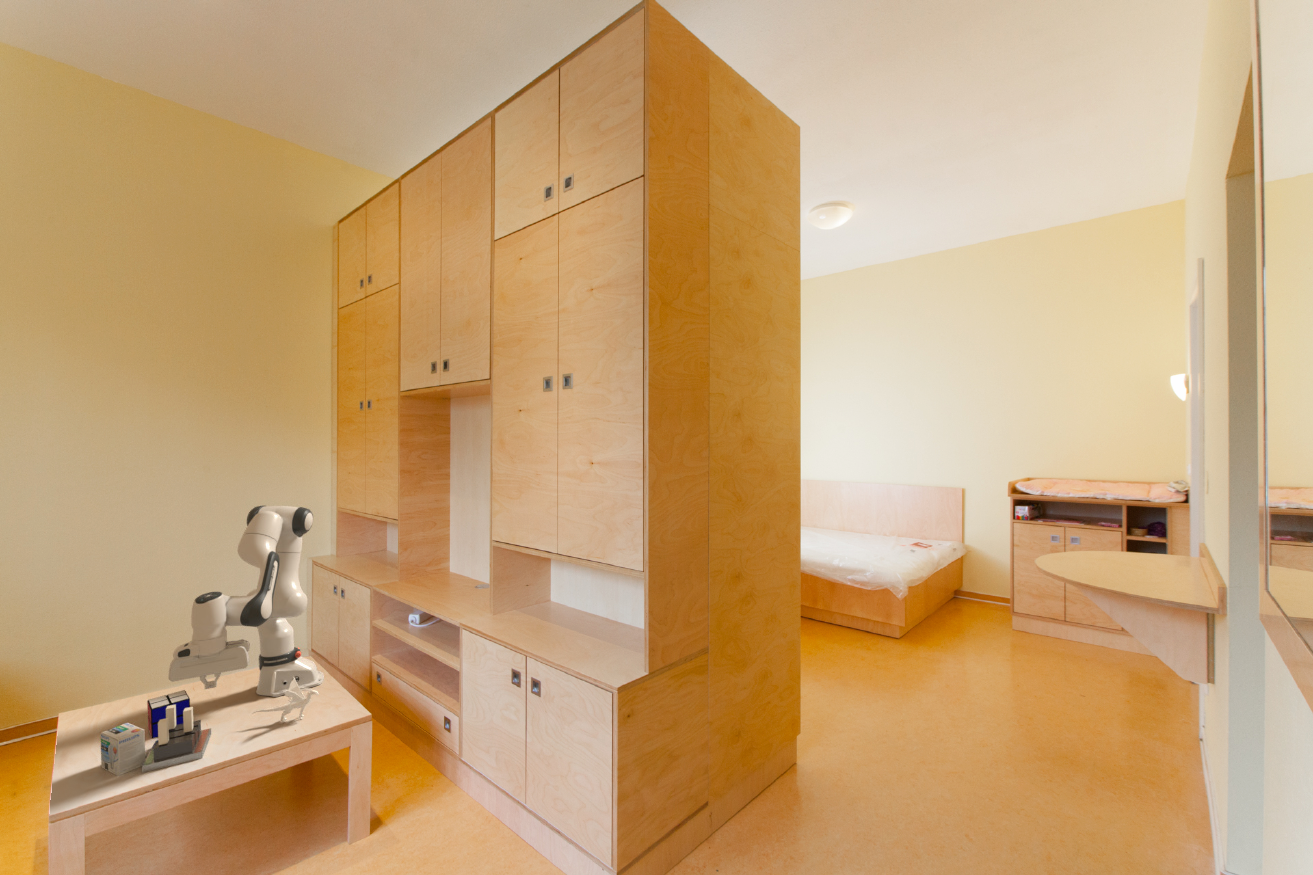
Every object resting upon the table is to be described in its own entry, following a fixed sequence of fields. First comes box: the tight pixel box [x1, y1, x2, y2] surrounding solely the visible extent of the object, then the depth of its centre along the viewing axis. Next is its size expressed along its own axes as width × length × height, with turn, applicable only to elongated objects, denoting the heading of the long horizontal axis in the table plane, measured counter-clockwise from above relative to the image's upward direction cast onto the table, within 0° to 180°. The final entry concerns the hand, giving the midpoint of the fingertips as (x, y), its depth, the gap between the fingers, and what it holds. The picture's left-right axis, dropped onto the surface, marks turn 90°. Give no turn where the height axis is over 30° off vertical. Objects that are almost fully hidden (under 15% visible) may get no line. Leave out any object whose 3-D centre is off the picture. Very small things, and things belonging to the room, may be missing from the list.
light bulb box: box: [100, 722, 146, 777], centre depth 170 cm, size 11×7×11 cm, turn 65°
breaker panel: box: [141, 719, 212, 774], centre depth 177 cm, size 14×16×6 cm
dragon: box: [251, 678, 320, 723], centre depth 195 cm, size 11×20×13 cm, turn 111°
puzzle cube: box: [146, 689, 191, 739], centre depth 192 cm, size 10×10×10 cm
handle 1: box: [157, 718, 169, 745], centre depth 171 cm, size 2×2×7 cm
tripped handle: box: [183, 706, 194, 733], centre depth 178 cm, size 2×2×7 cm
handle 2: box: [166, 704, 176, 730], centre depth 180 cm, size 2×2×7 cm
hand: (210, 687), depth 181 cm, fingers closed
